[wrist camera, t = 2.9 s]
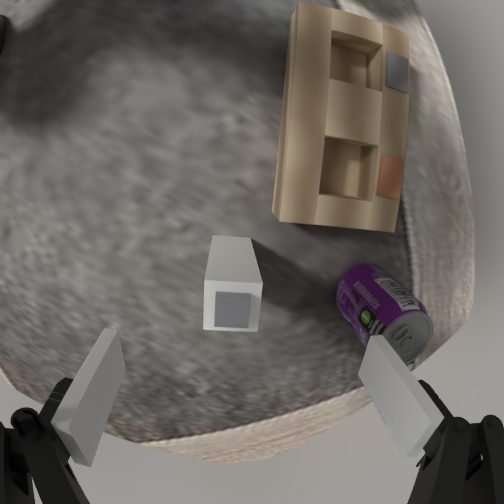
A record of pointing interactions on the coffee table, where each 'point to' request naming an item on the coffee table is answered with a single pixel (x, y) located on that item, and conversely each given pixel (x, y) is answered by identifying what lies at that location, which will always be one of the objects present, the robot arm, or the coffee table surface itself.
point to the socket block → (342, 121)
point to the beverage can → (383, 311)
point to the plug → (232, 286)
